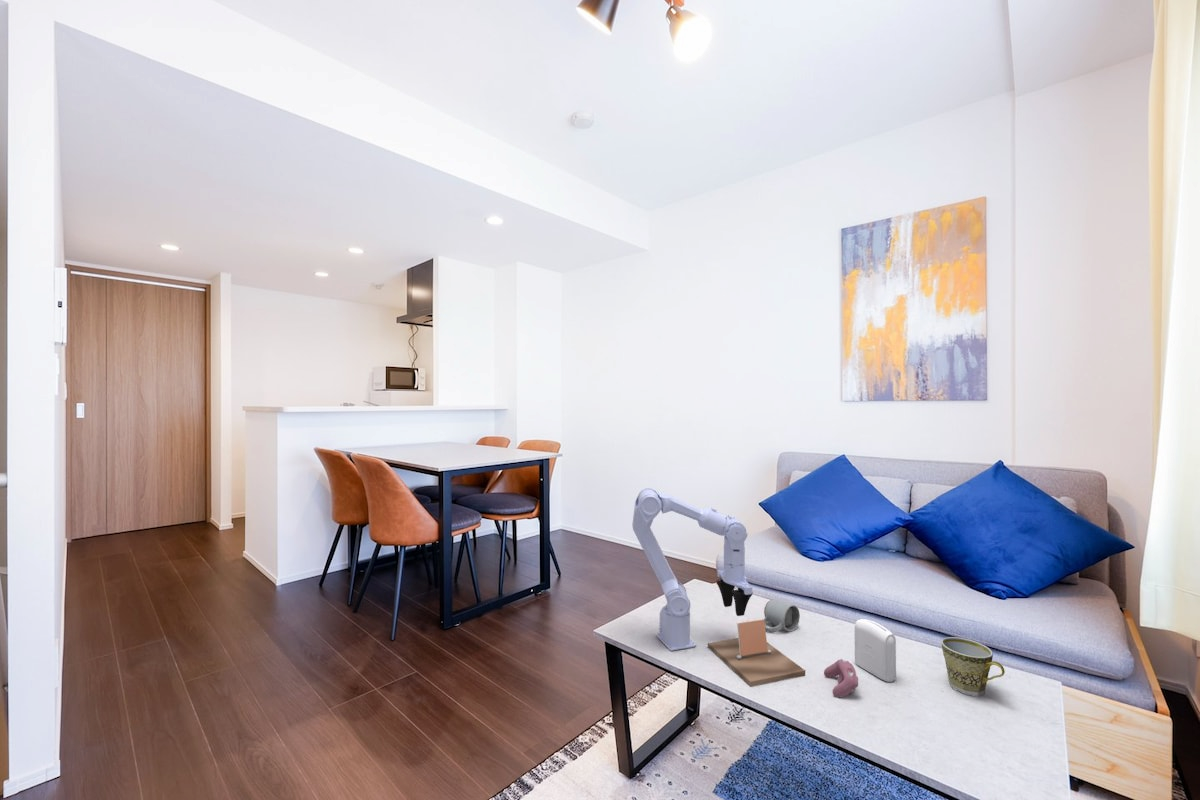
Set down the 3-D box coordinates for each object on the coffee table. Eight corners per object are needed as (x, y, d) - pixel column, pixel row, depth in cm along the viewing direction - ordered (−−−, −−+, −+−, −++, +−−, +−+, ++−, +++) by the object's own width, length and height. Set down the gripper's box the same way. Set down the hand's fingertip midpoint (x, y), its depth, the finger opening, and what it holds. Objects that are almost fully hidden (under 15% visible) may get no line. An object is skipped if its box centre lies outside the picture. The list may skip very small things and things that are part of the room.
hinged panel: (733, 623, 133) (735, 624, 133) (766, 618, 136) (768, 619, 136) (736, 658, 132) (738, 659, 131) (769, 652, 135) (771, 653, 134)
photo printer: (851, 663, 132) (851, 616, 132) (864, 660, 134) (864, 613, 133) (886, 684, 122) (886, 633, 122) (899, 680, 124) (899, 630, 124)
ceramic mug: (777, 618, 159) (777, 594, 159) (800, 628, 152) (800, 602, 152) (755, 627, 153) (755, 602, 153) (778, 638, 146) (778, 611, 146)
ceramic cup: (931, 682, 123) (932, 641, 123) (957, 673, 127) (957, 633, 127) (990, 712, 111) (990, 667, 111) (1017, 701, 115) (1017, 658, 115)
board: (707, 647, 140) (707, 642, 140) (756, 638, 145) (756, 634, 145) (750, 686, 121) (750, 681, 121) (805, 675, 126) (805, 670, 126)
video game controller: (850, 706, 116) (865, 681, 116) (831, 695, 117) (846, 670, 116) (838, 682, 126) (852, 659, 125) (821, 672, 127) (835, 649, 126)
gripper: (761, 569, 136) (761, 619, 137) (732, 553, 150) (731, 598, 150) (739, 572, 134) (739, 623, 134) (711, 555, 148) (711, 601, 148)
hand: (733, 610), depth 142 cm, fingers open, 6 cm apart
